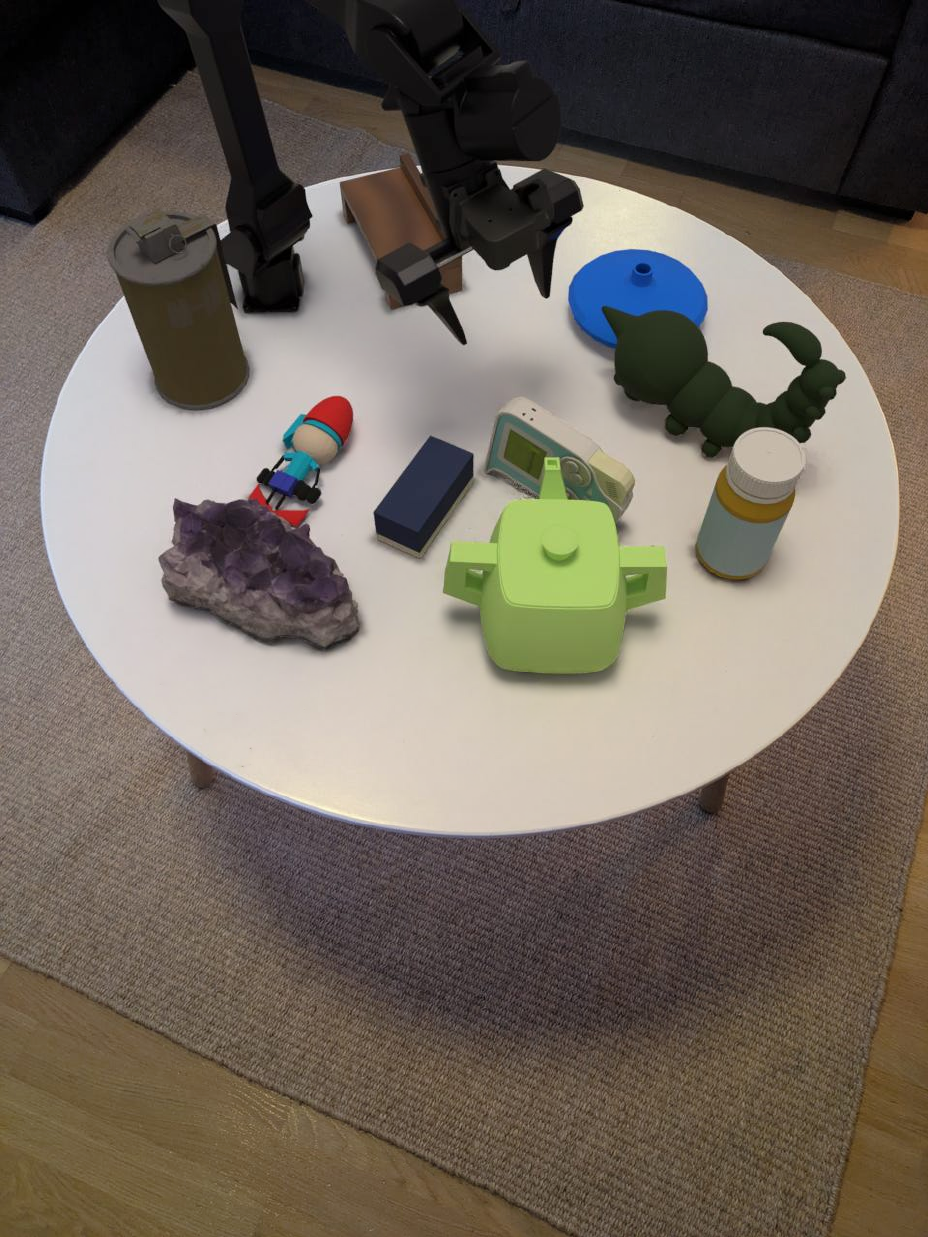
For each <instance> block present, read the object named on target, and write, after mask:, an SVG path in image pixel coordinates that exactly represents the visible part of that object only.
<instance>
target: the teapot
mask: <svg viewBox="0 0 928 1237" xmlns="http://www.w3.org/2000/svg"><path fill="white" fill-rule="evenodd" d="M616 525H617V524H616ZM616 525H615V522H614V518H613V515H612V512H611V511H610V509H609V507H608V506H607V505H606V504H604V503H602V502H597V501H586V500H568V498H567V494H566V489H565V485H564V480H563V476H562V471H561V467H560V461H559V457H545V458H544V466H543V473H542V480H541V487H540V494H539V497H538V498H523V499H514V500H511V501H508V503H507V504H506V505H505V506H504V508H503V509H502V511H501V513H500V515H499V518H498V519H497V521H496V523H495V525H494V526H493V530H492V533H491V535H490V538H489V542H480V541H479V542H477V541H457V540H451V543H450V547H449V551H448V555H447V561H446V565H445V570H444V574H443V575H444V576H443V587H442V594H445V595H447V596H449V597H453V598H455V599H457V600H460V601H463V602H465V603H468V604H471V605H473V606H476V607H478V608H479V613H480V621H481V629H482V634H483V639H484V643H485V646H486V650H487V652H488V655H489V657H490V658H491V660H492V661H493V662H494V663H495V664H496V665H497V666H498V667H500V668H501V669H503V670H507V671H515V672H520V673H521V672H523V673H525V672H526V673H536V674H537V673H538V674H588V673H596V672H601V671H604V670H605V669H607V668H608V667H610V666H611V665H613V663H614V662H615V661H616V659H617V657H618V655H619V652H620V650H621V649H620V648H621V644H622V640H623V636H624V635H623V634H624V631H625V630H624V628H625V624H626V623H625V622H626V614H627V611H629V610H633V609H636V608H639V607H643V606H646V605H649V604H652V603H653V604H654V603H657V602H659V601H663V600H666V598H667V582H668V581H667V579H668V562H667V554H666V546H665V545H640V546H639V545H635V546H634V545H632V546H631V545H628V546H626V545H625V546H623V545H622V546H621V543H620V539H619V534H618V528H617V526H616ZM477 571H479V572H477ZM480 572H482V573H480ZM626 576H628V577H626Z"/></svg>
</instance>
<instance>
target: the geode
mask: <svg viewBox="0 0 928 1237" xmlns="http://www.w3.org/2000/svg"><path fill="white" fill-rule="evenodd" d="M173 500H174V501H173V505H172V512H173V520H174V523H175V524H174V526H173V534H172V539H171V544H172V545H173V546H171V547H170V548H168V549H167V550H165V551H164V552H163V553H161V554H160V555H158V557H157V560H158V563H159V566H160V568H161V570H162V572H163V574H162V577H161V579H160V581H161V586H162V588H163V589H164V591H165V593H166V594H167V597H168V600H169V601H171V602H173V603H175V604H177V605H179V606H181V607H185V608H186V607H187V608H195V609H199V610H203V611H206V612H211V613H212V614H214V615H215V616H216V617H217V618H218V619H220V620H221V621H222V622H224V624H225V623H226V624H231V625H232V626H234V627H236V628H238V629H240V630H241V631H243V632H245V633H247V634H249V636H250V637H252V638H254V639H256V640H257V641H258V640H259V641H260V642H265V643H271V642H275V641H277V640H280V639H281V638H282V637H284V638H286V637H287V638H291V639H292V638H293V639H297V640H303V641H304V642H307V643H308V644H310V645H312V646H314V647H316V648H318V649H321V650H324V651H326V650H329V649H331V648H333V647H335V646H338V645H341V644H342V643H345V642H347V641H350V640H352V636H354V635H355V634H356V633H358V632H359V630H360V625H359V619H358V615H357V614H358V612H359V609H358V607H359V603H358V602H357V601H356V600H355V599H353V592H352V590H351V589H350V585H349V581H348V578H347V577H346V576H345V573H342V572H341V570H340V567H339V565H338V563H337V562H336V560H335V558H333V557H330V556H329V555H328V554H327V555H326V554H325V553H324V551H323V550H322V548H321V547H319V546H317V545H316V544H315V542H314V541H313V540H312V539H311V538H310V537H311V535H310V533H311V526H310V524H308V523H305V524H303V525H301V526H299V527H295V528H293V529H292V526H291V525H290V523H289V522H288V521H286V520H285V519H284V518H282V517H280V516H278V515H276V514H275V513H274V512H272V511H273V510H272V511H270V510H268V508H267V506H265V505H261V504H260V503H259V501H258V500H257V499H256V498H255V499H248V498H247V500H248V501H247V500H246V499H241V498H240V499H236V500H233V501H229V502H227V503H226V502H216V501H215V500H211V499H204V500H202V501H201V502H200V503H199V504H198V505H196V504H193V503H189V502H186V501H182V500H180V499H179V498H176V497H174V499H173Z"/></svg>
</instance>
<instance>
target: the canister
mask: <svg viewBox="0 0 928 1237" xmlns="http://www.w3.org/2000/svg"><path fill="white" fill-rule="evenodd" d="M221 240H222V239H221V236H220V232H219V228H218V225H217V224H216V223H215V222H214V221H213V220H212V218H210V217H209V216H208V215H207V214H205V213H201V214H199V215H195V214H191V213H189V212H186V211H177V210H161V209H160V208H156V209H154V210H152V211H150V212H148V213H145V214H142V215H140V216H138V217H135V218H134V219H132V220H130V221H127V222H126V223H125V224H123V225H122V226H121V227H120V228H119V229H118V230H116V231H115V233H114V234H113V235H112V236H111V238H110V239H109V242H108V246H107V250H106V257H107V258H106V259H107V261H108V264H109V266H110V267H111V269H112V270H113V271H114V273H115V274H116V278H117V281H118V283H119V286H120V289H121V291H122V294H123V296H124V299H125V302H126V304H127V307H128V310H129V313H130V315H131V318H132V321H133V323H134V326H135V328H136V332H137V334H138V336H139V339H140V342H141V346H142V347H143V350H144V353H145V355H146V358H147V361H148V364H149V366H150V368H151V371H152V374H153V376H154V385H155V388H156V391H157V392H158V393H159V395H160V396H161V397H162V398H163V399H164V400H165V401H167V403H169V404H170V405H173V406H175V407H177V408H181V409H186V410H207V409H211V408H216V407H218V406H220V405H222V404H224V403H227V402H229V401H230V400H232V399H234V398H235V397H236V396H237V395H238V394H239V393H240V392H241V391H242V390H243V389H244V387H245V385H246V384H247V382H248V378H249V376H250V364H249V361H248V358H247V356H246V355H245V352H244V348H243V345H242V341H241V337H240V333H239V330H238V326H237V321H236V317H235V313H234V309H233V307H234V308H235V309H236V310H239V307H238V303H237V299H236V295H235V292H234V288H233V284H232V280H231V276H230V272H229V267H228V264H227V263H226V260H225V256H224V252H223V248H222V244H221Z"/></svg>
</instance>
